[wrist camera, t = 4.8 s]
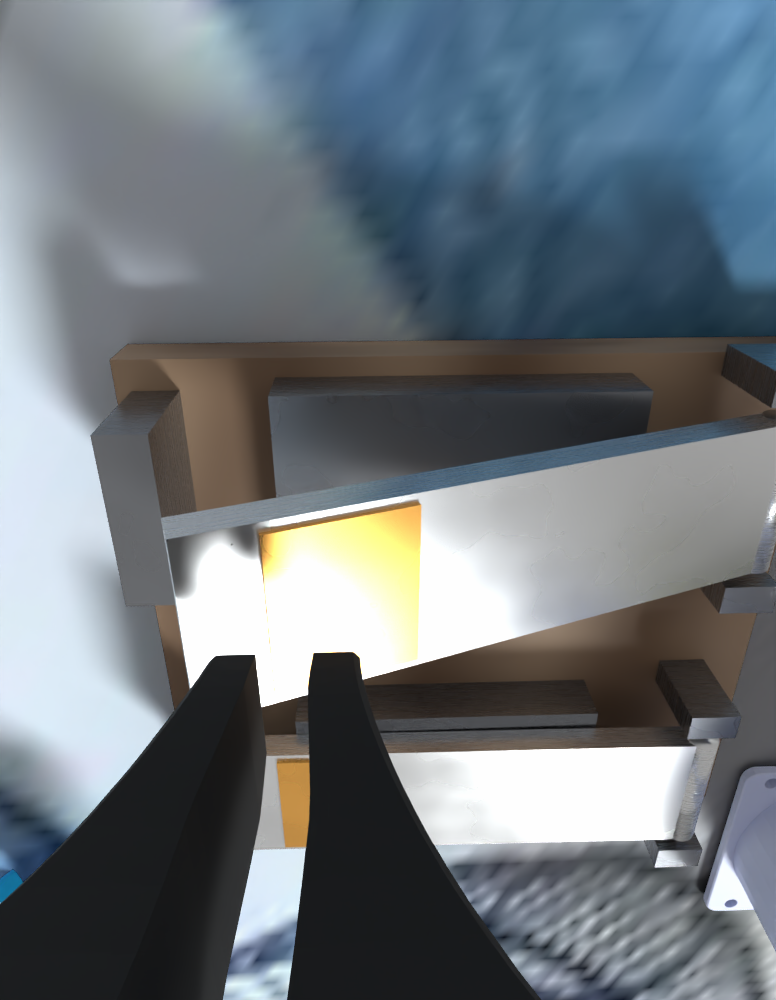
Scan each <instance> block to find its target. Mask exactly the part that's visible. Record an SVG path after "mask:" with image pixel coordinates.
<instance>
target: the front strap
mask: <svg viewBox="0 0 776 1000" xmlns="http://www.w3.org/2000/svg"><path fill="white" fill-rule="evenodd" d="M161 522H162V528H163V534H164V540H165V546H166V552H167V558H168V564H169V570H170V575H171V581H172V587H173V593H174V599H175V605H176V611H177V617H178V623H179V629H180V634H181V640H182V646H183V652H184V658H185V664H186V670H187V676H188V682H189V688H191V687H192V685H193V684H194V682H195V681H196V680H197V678H198V677H199V675H200V674H201V672H202V671H203V669H204V668H205V666H206V665H207V663H208V662H209V661H210V660H211V659H212V658H213V657H214V656H215V655H233V654H256V661H257V670H258V679H259V688H260V697H261V706H266V705H270V704H273V703H277V702H281V701H284V700H288V699H292V698H295V697H299V696H303V695H306V694H308V678H309V672H310V666H311V661H312V656H313V653H314V652H354V653H356V654H357V655H358V656H359V657H360V658H361V670H362V676H363V679H365V678H369V677H373V676H376V675H380V674H384V673H387V672H391V671H395V670H398V669H402V668H406V667H409V666H413V665H417V664H420V663H424V662H428V661H431V660H435V659H439V658H442V657H446V656H450V655H453V654H457V653H461V652H464V651H468V650H472V649H475V648H479V647H483V646H486V645H490V644H494V643H498V642H501V641H505V640H509V639H512V638H516V637H520V636H523V635H527V634H531V633H534V632H538V631H542V630H545V629H549V628H553V627H556V626H560V625H564V624H567V623H571V622H575V621H578V620H582V619H586V618H589V617H593V616H597V615H600V614H604V613H608V612H611V611H615V610H619V609H623V608H626V607H630V606H634V605H637V604H641V603H645V602H648V601H652V600H656V599H659V598H663V597H667V596H670V595H674V594H678V593H681V592H685V591H689V590H692V589H696V588H700V587H703V586H707V585H711V584H714V583H718V582H722V581H725V580H729V579H733V578H736V577H740V576H744V575H747V574H761V573H765V572H766V571H767V570H768V568H769V564H770V561H771V557H772V554H773V550H774V547H775V543H776V410H767V411H764V412H762V413H760V414H754V415H749V416H743V417H737V418H732V419H726V420H720V421H714V422H709V423H703V424H697V425H691V426H686V427H680V428H674V429H668V430H663V431H657V432H651V433H645V434H640V435H634V436H628V437H622V438H617V439H611V440H605V441H599V442H594V443H588V444H582V445H577V446H571V447H565V448H559V449H554V450H548V451H542V452H536V453H531V454H525V455H519V456H513V457H508V458H502V459H496V460H490V461H485V462H479V463H473V464H467V465H462V466H456V467H450V468H444V469H439V470H433V471H427V472H422V473H416V474H410V475H404V476H399V477H393V478H387V479H381V480H376V481H370V482H364V483H358V484H353V485H347V486H341V487H335V488H330V489H324V490H318V491H312V492H307V493H301V494H295V495H290V496H284V497H278V498H272V499H267V500H261V501H255V502H249V503H244V504H238V505H232V506H226V507H221V508H215V509H209V510H203V511H198V512H192V513H186V514H180V515H175V516H169V517H163V518H161Z"/></svg>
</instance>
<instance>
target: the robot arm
mask: <svg viewBox="0 0 776 1000" xmlns="http://www.w3.org/2000/svg"><path fill="white" fill-rule="evenodd" d="M308 730H309V773H310V806H309V825H308V834H307V843H306V852H305V861H304V871H303V880H302V888H301V896H300V904H299V913H298V921H297V929H296V937H295V946H294V953H293V961H292V968H291V975H290V983H289V990H288V997H287V1000H541V999H540V998H539V996H538V995H537V994H536V993H535V991H534V990H533V989H532V987H531V986H530V985H529V984H528V982H527V981H526V980H525V979H524V977H523V976H522V975H521V973H520V972H519V971H518V970H517V968H516V967H515V965H514V964H513V963H512V961H511V960H510V958H509V957H508V956H507V954H506V953H505V951H504V950H503V949H502V947H501V946H500V944H499V943H498V942H497V940H496V939H495V937H494V936H493V935H492V933H491V932H490V930H489V929H488V928H487V926H486V925H485V923H484V922H483V921H482V919H481V918H480V916H479V915H478V914H477V912H476V911H475V909H474V908H473V907H472V905H471V904H470V902H469V901H468V899H467V897H466V896H465V894H464V893H463V891H462V890H461V888H460V886H459V885H458V883H457V882H456V880H455V879H454V877H453V875H452V874H451V872H450V871H449V869H448V868H447V866H446V864H445V863H444V861H443V859H442V857H441V856H440V854H439V852H438V851H437V849H436V847H435V846H434V844H433V842H432V841H431V839H430V837H429V835H428V833H427V832H426V830H425V828H424V826H423V824H422V823H421V821H420V819H419V817H418V815H417V813H416V811H415V809H414V807H413V805H412V803H411V801H410V799H409V797H408V795H407V793H406V791H405V789H404V787H403V785H402V783H401V781H400V779H399V777H398V775H397V772H396V770H395V768H394V766H393V764H392V761H391V759H390V756H389V754H388V752H387V749H386V747H385V744H384V742H383V739H382V737H381V734H380V732H379V729H378V727H377V724H376V721H375V718H374V716H373V713H372V709H371V706H370V703H369V700H368V697H367V693H366V689H365V685H364V681H363V676H362V670H361V658H360V657H359V656H358V655H357V654H356V653H354V652H314V653H313V656H312V661H311V666H310V672H309V678H308ZM266 756H267V750H266V741H265V733H264V724H263V715H262V706H261V697H260V688H259V679H258V670H257V661H256V654H233V655H215V656H214V657H213V658H212V659H211V660H210V661H209V662H208V663H207V665H206V666H205V668H204V669H203V671H202V672H201V674H200V675H199V677H198V678H197V680H196V681H195V682H194V684H193V685H192V687H191V688H190V690H189V691H188V693H187V694H186V695H185V697H184V698H183V700H182V701H181V702H180V704H179V705H178V706H177V708H176V709H175V711H174V712H173V713H172V715H171V716H170V717H169V719H168V720H167V721H166V723H165V724H164V725H163V727H162V728H161V729H160V730H159V732H158V733H157V734H156V736H155V737H154V738H153V739H152V741H151V742H150V743H149V745H148V746H147V747H146V748H145V750H144V751H143V752H142V754H141V755H140V756H139V757H138V759H137V760H136V761H135V762H134V764H133V765H132V766H131V767H130V768H129V770H128V771H127V772H126V773H125V774H124V775H123V777H122V778H121V779H120V780H119V781H118V782H117V784H116V785H115V786H114V787H113V788H112V789H111V790H110V792H109V793H108V794H107V795H106V796H105V797H104V799H103V800H102V801H101V802H100V803H99V804H98V805H97V807H96V808H95V809H94V810H93V811H92V812H91V813H90V815H89V816H88V817H87V818H86V819H85V820H84V821H83V822H82V823H81V824H80V825H79V826H78V828H77V829H76V830H75V831H74V832H73V833H72V834H71V835H70V836H69V837H68V838H67V839H66V840H65V841H64V842H63V843H62V844H61V845H60V846H59V848H58V849H57V850H56V851H55V852H54V853H53V854H52V855H51V856H50V857H49V858H48V859H47V860H46V861H45V862H44V863H43V864H42V865H41V866H40V867H39V868H38V869H37V870H36V871H35V872H34V873H33V874H31V875H30V876H29V877H28V878H27V879H26V880H25V881H24V882H23V883H22V884H21V885H20V886H19V887H18V888H17V889H16V890H14V891H13V892H12V893H11V894H10V895H9V896H8V897H7V898H6V899H5V900H4V901H3V902H1V903H0V1000H223V995H224V989H225V983H226V978H227V972H228V967H229V963H230V958H231V953H232V949H233V944H234V939H235V935H236V930H237V925H238V921H239V916H240V911H241V907H242V902H243V897H244V893H245V888H246V883H247V879H248V874H249V869H250V865H251V860H252V855H253V850H254V846H255V841H256V836H257V831H258V826H259V821H260V815H261V806H262V797H263V787H264V777H265V766H266ZM704 901H705V903H706V906H707V907H708V908H709V909H711V910H715V911H723V910H752V909H754V910H755V912H756V914H757V916H758V918H759V920H760V922H761V924H762V926H763V928H764V930H765V932H766V934H767V936H768V938H769V940H770V941H771V943H772V945H773V947H774V949H775V951H776V766H761V767H751V768H749V769H747V770H745V771H744V772H743V774H742V775H741V777H740V781H739V784H738V787H737V790H736V793H735V797H734V800H733V803H732V806H731V810H730V813H729V816H728V819H727V822H726V826H725V829H724V832H723V835H722V839H721V842H720V845H719V848H718V851H717V855H716V858H715V861H714V864H713V868H712V871H711V874H710V877H709V880H708V884H707V887H706V890H705V893H704Z"/></svg>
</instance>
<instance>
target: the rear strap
mask: <svg viewBox="0 0 776 1000" xmlns="http://www.w3.org/2000/svg"><path fill="white" fill-rule="evenodd" d="M380 734H381V737H382V739H383V742H384V744H385V747H386V749H387V752H388V754H389V756H390V759H391V761H392V764H393V766H394V768H395V770H396V772H397V775H398V777H399V779H400V781H401V783H402V785H403V787H404V789H405V791H406V793H407V795H408V797H409V799H410V801H411V803H412V805H413V807H414V809H415V811H416V813H417V815H418V817H419V819H420V821H421V823H422V824H423V826H424V828H425V830H426V832H427V833H428V835H429V837H430V839H431V841H432V842H433V844H434V845H459V844H498V843H538V842H578V841H617V840H657V839H673V840H676V841H680V842H685V841H688V840H690V839H691V838H692V837H693V834H694V830H695V826H696V823H697V819H698V816H699V812H700V809H701V805H702V802H703V798H704V795H705V791H706V787H707V784H708V780H709V777H710V773H711V770H712V766H713V763H714V759H715V756H716V752H717V749H718V745H719V738H714V739H687V738H686V736H685V734H684V732H683V730H682V729H681V727H680V726H669V727H623V728H577V729H532V730H486V731H440V732H394V733H380ZM265 741H266V750H267V756H266V766H265V777H264V787H263V797H262V806H261V815H260V821H259V826H258V831H257V836H256V841H255V846H254V850H261V849H301V848H306V843H307V834H308V825H309V806H310V773H309V734H303V735H265Z"/></svg>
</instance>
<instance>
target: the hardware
mask: <svg viewBox="0 0 776 1000" xmlns="http://www.w3.org/2000/svg"><path fill="white" fill-rule="evenodd" d="M721 376H723V377H724V378H726V379H727V380H729V381H730V382H732V383H733V384H735V385H736V386H738V387H739V388H741V389H743V390H744V391H746V392H747V393H749V394H750V395H752V396H753V397H755V398H756V399H758V400H759V401H761V402H762V403H764V404H766V405H767V406H769V407H770V408H776V344H727V348H726V353H725V357H724V362H723V367H722V371H721ZM653 392H654V391H653V390H652V389H650V388H649V387H648V386H647V385H646V384H645V383H643V382H642V381H641V380H640V379H639V378H638V377H636V376H635V375H634V374H633V373H568V374H494V375H419V376H345V377H275V379H274V382H273V384H272V387H271V390H270V393H269V395H268V403H269V415H270V427H271V439H272V451H273V463H274V475H275V487H276V498H278V497H284V496H290V495H295V494H301V493H307V492H312V491H318V490H324V489H330V488H335V487H341V486H347V485H353V484H358V483H364V482H370V481H376V480H381V479H387V478H393V477H399V476H404V475H410V474H416V473H422V472H427V471H433V470H439V469H444V468H450V467H456V466H462V465H467V464H473V463H479V462H485V461H490V460H496V459H502V458H508V457H513V456H519V455H525V454H531V453H536V452H542V451H548V450H554V449H559V448H565V447H571V446H577V445H582V444H588V443H594V442H599V441H605V440H611V439H617V438H622V437H628V436H634V435H640V434H645V433H647V427H648V421H649V415H650V410H651V404H652V398H653ZM91 440H92V445H93V450H94V455H95V459H96V464H97V469H98V474H99V479H100V484H101V488H102V493H103V498H104V503H105V508H106V512H107V517H108V522H109V527H110V532H111V536H112V541H113V546H114V551H115V556H116V560H117V565H118V570H119V575H120V580H121V585H122V589H123V594H124V599H125V604H126V606H157V605H175V599H174V593H173V587H172V581H171V575H170V570H169V564H168V558H167V552H166V546H165V540H164V534H163V528H162V522H161V518H163V517H169V516H175V515H180V514H186V513H192V512H197V507H196V500H195V493H194V486H193V479H192V472H191V465H190V458H189V451H188V444H187V437H186V430H185V423H184V416H183V409H182V402H181V395H180V390H169V391H131V392H130V393H129V394H128V395H127V396H126V398H125V399H124V400H123V401H122V402H121V403H120V404H119V405H118V406H117V407H116V408H115V409H114V411H113V412H112V413H111V414H110V415H109V416H108V417H107V418H106V419H105V420H104V421H103V422H102V424H101V425H100V426H99V427H98V428H97V429H96V430H95V431H94V432H93V433H92V434H91ZM700 589H701V590H702V592H703V593H704V594H705V596H706V597H707V598H708V600H709V601H710V602H711V604H712V605H713V606H714V608H715V609H716V610H717V612H718V613H719V614H730V613H772V612H773V609H774V605H775V602H776V582H775V581H774V580H773V579H772V578H771V577H770V576H769V575H768V573H767V572H765V573H761V574H747V575H744V576H740V577H736V578H733V579H729V580H725V581H722V582H718V583H714V584H711V585H707V586H703V587H700ZM655 681H656V683H657V685H658V686H659V688H660V690H661V692H662V694H663V696H664V697H665V699H666V701H667V703H668V705H669V707H670V708H671V710H672V712H673V714H674V716H675V718H676V719H677V721H678V723H679V725H680V727H681V729H682V730H683V732H684V734H685V736H686V738H687V739H714V738H735V737H736V734H737V731H738V727H739V724H740V720H741V715H740V714H739V712H738V711H737V709H736V708H735V706H734V705H733V703H732V702H731V700H730V699H729V697H728V696H727V694H726V693H725V691H724V690H723V688H722V687H721V685H720V684H719V682H718V681H717V679H716V678H715V676H714V675H713V673H712V671H711V670H710V668H709V667H708V665H707V664H706V662H705V661H704V659H693V660H659V664H658V669H657V674H656V678H655ZM365 689H366V693H367V697H368V700H369V703H370V706H371V709H372V713H373V716H374V718H375V721H376V724H377V727H378V729H379V732H380V733H394V732H440V731H486V730H532V729H577V728H596V722H597V716H598V712H597V710H596V708H595V705H594V703H593V700H592V698H591V696H590V693H589V691H588V688H587V686H586V683H585V681H584V680H546V681H507V682H468V683H429V684H390V685H365ZM295 724H296V735H303V734H309V730H308V694H306V695H303V696H299V697H298V702H297V711H296V720H295ZM644 842H645V844H646V847H647V849H648V852H649V854H650V857H651V859H652V862H653V864H654V867H681V866H698V863H699V859H700V856H701V853H702V847H701V845H700V843H699V841H698V839H697V837H696V835H695V833H694V834H693V837H692V838H691V839H690V840H688V841H685V842H680V841H676V840H673V839H657V840H644Z"/></svg>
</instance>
